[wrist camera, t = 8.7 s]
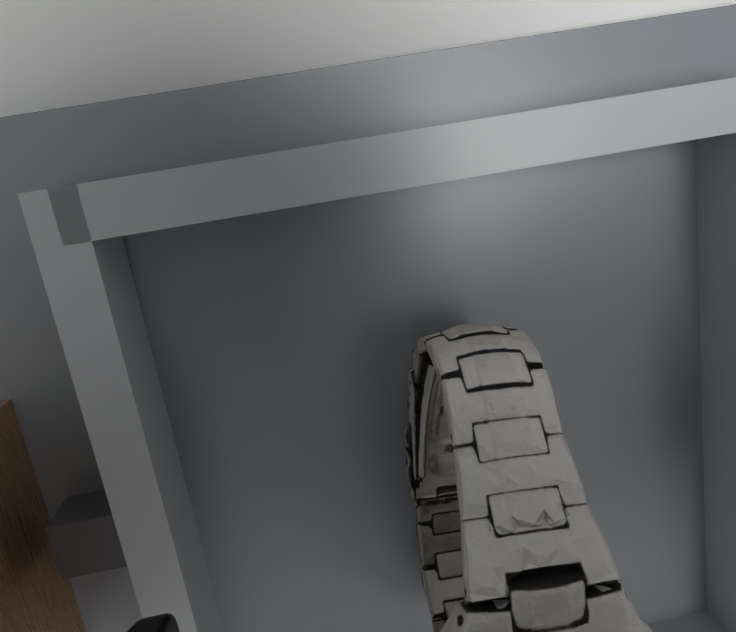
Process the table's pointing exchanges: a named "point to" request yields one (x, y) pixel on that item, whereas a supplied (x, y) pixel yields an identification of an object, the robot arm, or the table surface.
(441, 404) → the wristwatch
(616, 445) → the grey tray
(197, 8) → the table surface
